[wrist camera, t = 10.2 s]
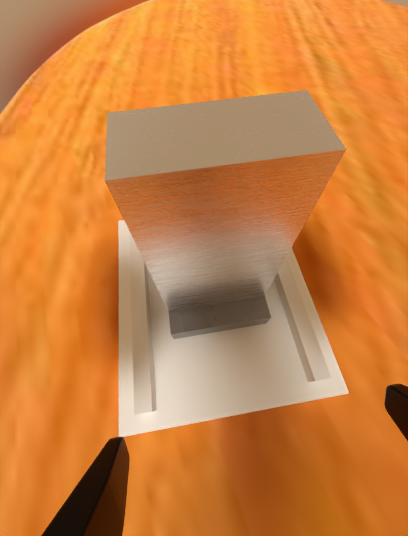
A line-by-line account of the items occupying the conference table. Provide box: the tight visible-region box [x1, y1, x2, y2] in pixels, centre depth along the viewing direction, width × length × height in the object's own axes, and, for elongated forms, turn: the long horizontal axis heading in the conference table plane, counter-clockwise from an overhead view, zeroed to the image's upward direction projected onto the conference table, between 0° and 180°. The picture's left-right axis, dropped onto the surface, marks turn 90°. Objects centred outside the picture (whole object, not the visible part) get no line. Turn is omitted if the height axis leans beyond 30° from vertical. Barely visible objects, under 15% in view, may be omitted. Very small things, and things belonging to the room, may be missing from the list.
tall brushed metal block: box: [105, 90, 346, 339], centre depth 13 cm, size 6×6×12 cm
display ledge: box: [119, 220, 349, 437], centre depth 18 cm, size 16×14×3 cm
